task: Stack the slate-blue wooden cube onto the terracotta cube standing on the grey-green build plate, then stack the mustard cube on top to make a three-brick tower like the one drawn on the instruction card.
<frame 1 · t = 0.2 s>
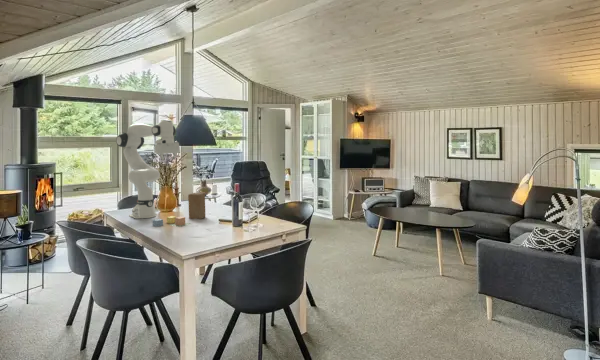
hand: (168, 159, 282), 47 cm above the table, tool pointing down, fingers open, 8 cm apart
brick terracotta: (180, 224, 272), point 1 cm above the table, touching build plate
build plate: (180, 225, 272), on the table
block: (197, 218, 297), on the table
instruction card: (169, 228, 262), on the table
brick slate: (157, 226, 269), on the table
brick mustard: (171, 223, 279), on the table
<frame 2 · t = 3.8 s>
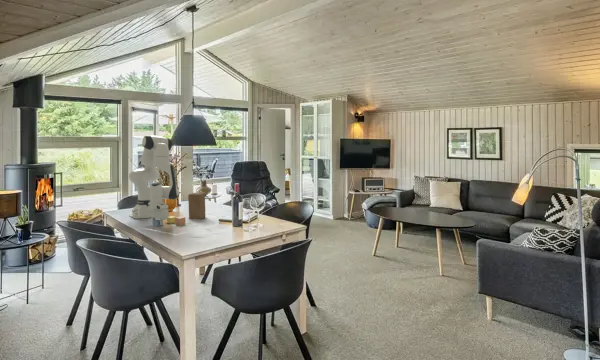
hand: (157, 224, 269), 2 cm above the table, tool pointing down, fingers closed on brick slate, 5 cm apart
brick slate: (157, 226, 269), on the table, touching gripper
everything else where it was.
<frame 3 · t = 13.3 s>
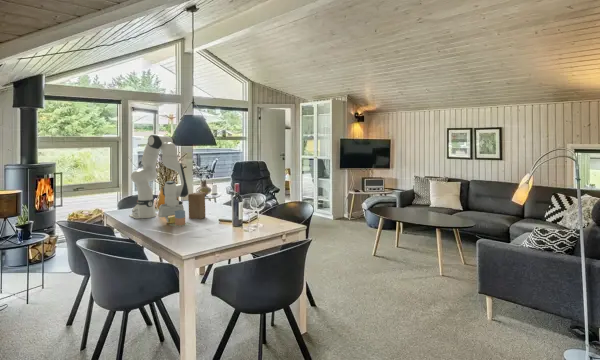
hand: (171, 221, 279), 2 cm above the table, tool pointing down, fingers closed on brick mustard, 5 cm apart
brick terracotta: (180, 224, 272), point 1 cm above the table, touching brick slate, build plate
brick slate: (180, 217, 272), point 6 cm above the table, touching brick terracotta
brick mustard: (171, 223, 279), on the table, touching gripper
everything else where it was.
when the fingers open (14 cm above the table, at t = 18.7 s): brick mustard drops 1 cm, resting on brick slate.
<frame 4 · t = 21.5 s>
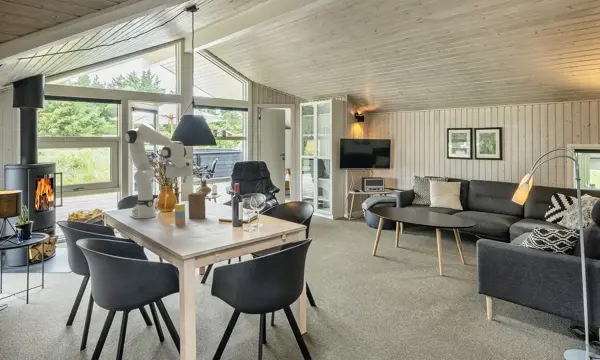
hand: (178, 183, 269), 31 cm above the table, tool pointing down, fingers open, 8 cm apart
brick slate: (180, 217, 272), point 6 cm above the table, touching brick mustard, brick terracotta
brick mustard: (179, 210, 271), point 11 cm above the table, touching brick slate
everything else where it was.
at the end: brick slate 0.0 cm off-centre on the brick terracotta, point 5.0 cm above the brick terracotta's base; brick mustard 0.0 cm off-centre on the brick terracotta, point 10.0 cm above the brick terracotta's base; brick mustard tilted 0° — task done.
